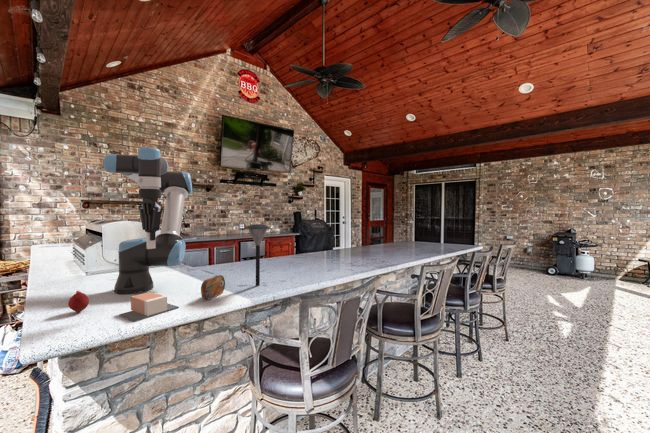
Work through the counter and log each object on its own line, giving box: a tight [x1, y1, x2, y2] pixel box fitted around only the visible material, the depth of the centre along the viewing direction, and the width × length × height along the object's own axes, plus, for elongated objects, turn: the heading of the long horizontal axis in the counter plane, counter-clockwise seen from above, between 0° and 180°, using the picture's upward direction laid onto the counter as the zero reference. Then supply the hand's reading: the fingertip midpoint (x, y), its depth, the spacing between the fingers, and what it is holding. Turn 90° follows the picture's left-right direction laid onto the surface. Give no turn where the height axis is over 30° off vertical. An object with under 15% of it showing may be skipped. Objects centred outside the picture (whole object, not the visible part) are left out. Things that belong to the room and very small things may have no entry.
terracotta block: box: [130, 291, 168, 316], centre depth 110 cm, size 5×7×11 cm
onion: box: [68, 290, 90, 314], centre depth 108 cm, size 6×6×8 cm
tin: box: [200, 274, 226, 300], centre depth 129 cm, size 15×3×8 cm, turn 168°
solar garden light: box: [244, 223, 271, 287], centre depth 147 cm, size 12×12×30 cm
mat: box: [118, 302, 180, 322], centre depth 110 cm, size 10×16×1 cm, turn 149°
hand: (151, 248), depth 118 cm, fingers closed
